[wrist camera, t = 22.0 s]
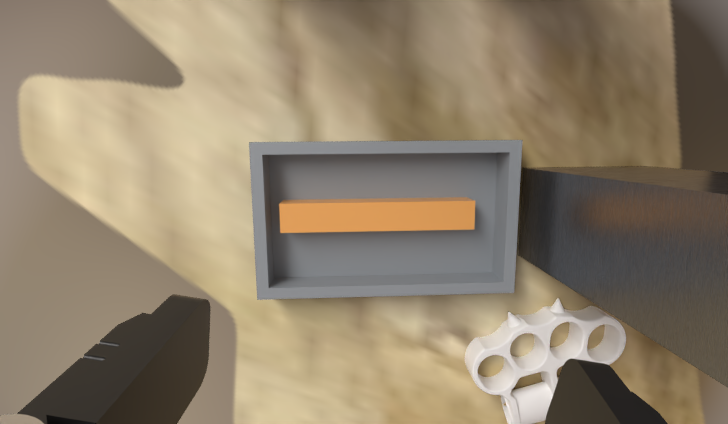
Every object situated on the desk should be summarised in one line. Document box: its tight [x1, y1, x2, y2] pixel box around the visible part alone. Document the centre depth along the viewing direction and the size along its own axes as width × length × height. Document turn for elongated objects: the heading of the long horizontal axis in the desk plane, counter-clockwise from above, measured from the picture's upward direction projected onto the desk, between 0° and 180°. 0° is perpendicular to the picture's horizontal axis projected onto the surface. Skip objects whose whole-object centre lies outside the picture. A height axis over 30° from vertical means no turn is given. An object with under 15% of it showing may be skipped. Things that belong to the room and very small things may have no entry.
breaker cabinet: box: [518, 166, 728, 387], centre depth 31 cm, size 14×11×32 cm
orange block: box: [279, 197, 475, 233], centre depth 44 cm, size 20×3×3 cm, turn 90°
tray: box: [249, 140, 522, 300], centre depth 44 cm, size 27×16×4 cm, turn 90°
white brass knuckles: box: [465, 298, 626, 424], centre depth 48 cm, size 3×18×15 cm
